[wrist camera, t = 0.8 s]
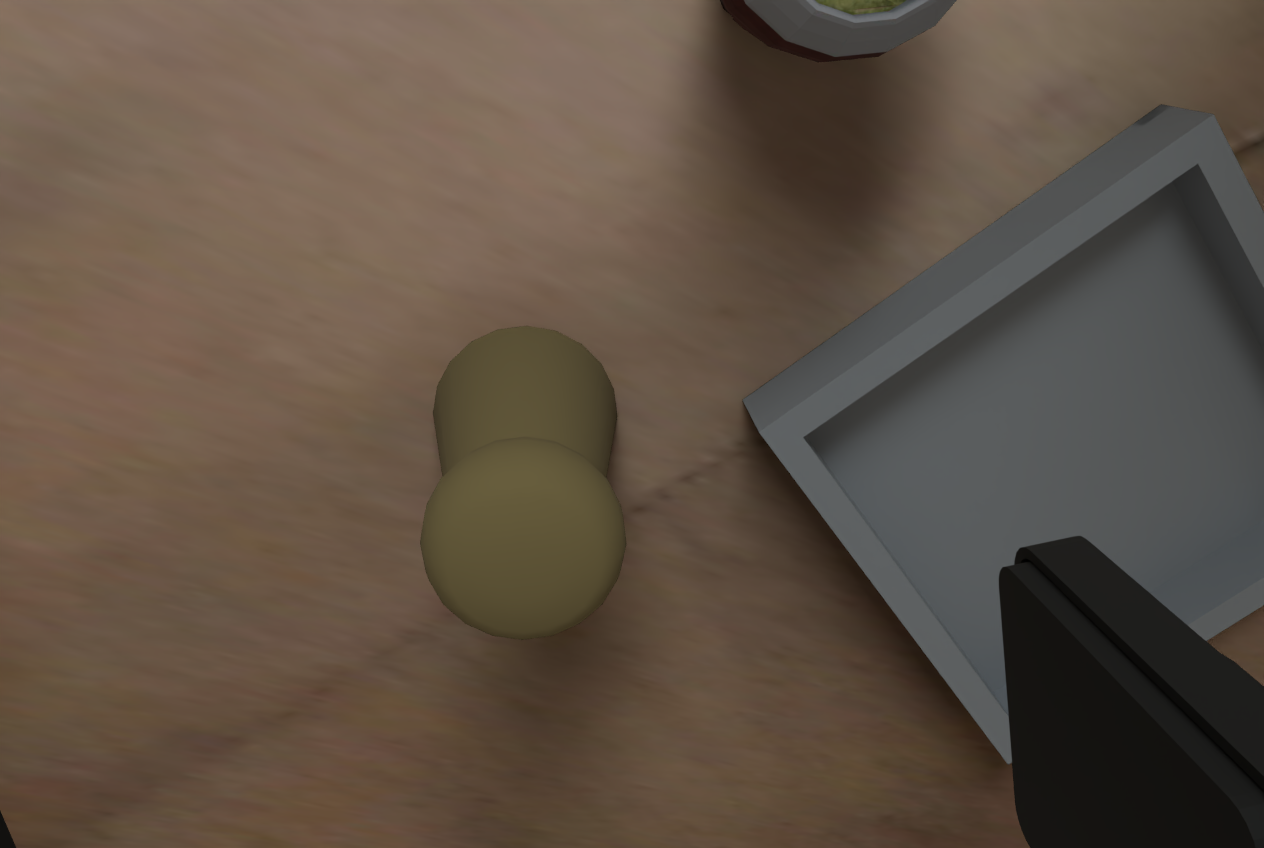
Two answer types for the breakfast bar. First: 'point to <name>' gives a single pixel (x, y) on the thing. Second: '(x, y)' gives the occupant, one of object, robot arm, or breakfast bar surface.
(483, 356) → the cork
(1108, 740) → the robot arm
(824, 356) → the tray
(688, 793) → the breakfast bar surface
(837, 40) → the mate gourd
